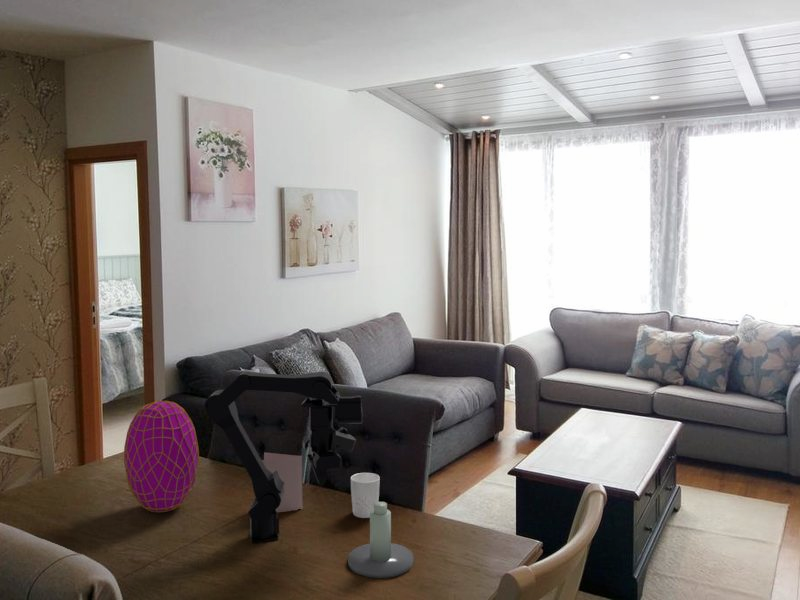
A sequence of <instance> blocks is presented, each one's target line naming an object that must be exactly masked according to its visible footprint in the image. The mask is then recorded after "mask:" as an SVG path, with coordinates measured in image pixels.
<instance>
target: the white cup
mask: <svg viewBox="0 0 800 600" xmlns="http://www.w3.org/2000/svg"><path fill="white" fill-rule="evenodd" d="M380 478H381V477H380V476H379V474H377V473H373V472H360V473H355V474H353V475H351V476H350V493H351V494H350V495H351V505H352V514H353V516H355V517H356V518H360V519H361V518H362V519H370V511H372V510H374V503H376V502H380V501H379V500H380V499H379V497H380V482H381V481H380V480H381V479H380Z"/></svg>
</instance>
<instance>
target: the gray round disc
mask: <svg viewBox="0 0 800 600" xmlns="http://www.w3.org/2000/svg"><path fill="white" fill-rule="evenodd" d="M347 560H348V562H347V565H348V567H349V569H350V570H351V571H353V573H355V574H357V575H359V576H363V577H367V578H372V579H389V578H393V577H394V578H395V577H398V576H400V575H401V576H402V575H403V574H405V573H407V572H409V571H410V570H411V569H412V568H413V566H414V554H413V552H412V551H411V550H410V549H409V548H407V547H406V546H404V545H401V544H397V543H393V542H391V558H390V559H389V560H387V561H384V562H377V561H373V560H371V558H370V542H369V543H366V544H362V545H360V546H357V547H355V548H354V549H353V550H351V551H350V552H349V554H348V558H347Z"/></svg>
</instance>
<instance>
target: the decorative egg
mask: <svg viewBox="0 0 800 600" xmlns="http://www.w3.org/2000/svg"><path fill="white" fill-rule="evenodd" d="M194 425H195V424H194V423H193V420H192V419H191V417H190V416H189V414H188V413H187V411H186V410H185V409H184V408H183V407H182V406H180V405H179V404H178V403H177V402H174V401H169V400H156V401H153V402H150V403H147V404H145V405H143V406H141V408H140V409H139V410H138V411H137V412H136V413H135V415H134V416H133V418H132V420H131V422H130V424H129V426H128V429H127V432H126V436H125V443H124V448H123V462H124V463H123V464H124V469H125V474H126V479H127V484H128V487H129V489H130V491H131V493H132V495H133V496H134V499H136V501H137V502H138V503H139V505H140V506H141V507H142V508H143V509H145V510H147V511H148V512H152V513H166V512H170V511H174V510H176V509H178V508H179V507H180V506H181V505H182V504H183V503H184V502H186V500H187V499H188V496H189V495H190V493H191V492H192V490H193V487H194V485H195V482H196V479H197V473H198V468H199V463H200V451H199V450H200V449H199V443H198V438H197V432H196V428H195V426H194Z"/></svg>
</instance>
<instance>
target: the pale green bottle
mask: <svg viewBox="0 0 800 600" xmlns="http://www.w3.org/2000/svg"><path fill="white" fill-rule="evenodd" d="M391 533H392V512H391V510H389V509H388V503H387V502H385V501H379V502H376V503H374V510H372V511H370V518H369V543H370V558H371V560H373V561H377V562H384V561H387V560H389V559H390V558H391V543H392V534H391Z"/></svg>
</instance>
